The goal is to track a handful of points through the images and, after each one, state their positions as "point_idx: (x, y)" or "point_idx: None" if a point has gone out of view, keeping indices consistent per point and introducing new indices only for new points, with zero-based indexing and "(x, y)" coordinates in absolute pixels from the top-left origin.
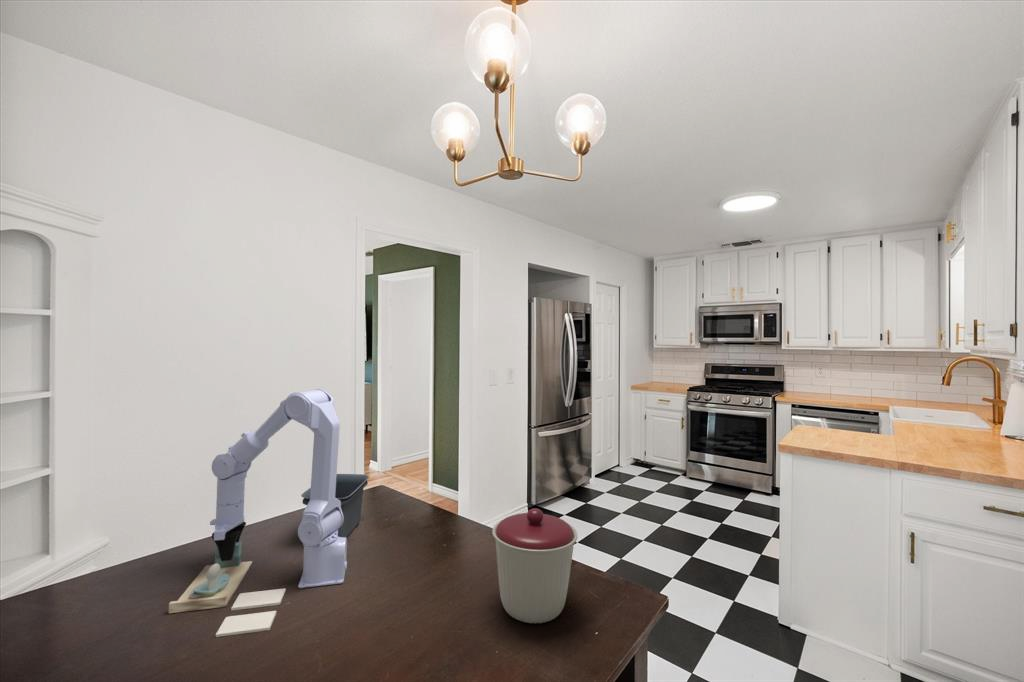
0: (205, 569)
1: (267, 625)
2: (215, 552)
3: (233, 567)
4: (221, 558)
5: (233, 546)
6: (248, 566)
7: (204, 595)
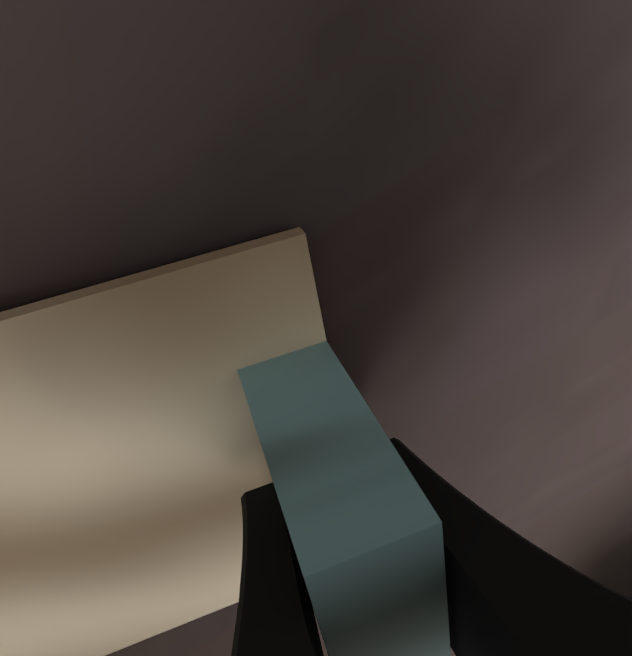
0: (207, 291)
1: None
2: (283, 504)
3: None
4: (245, 521)
5: None
6: None
7: None
